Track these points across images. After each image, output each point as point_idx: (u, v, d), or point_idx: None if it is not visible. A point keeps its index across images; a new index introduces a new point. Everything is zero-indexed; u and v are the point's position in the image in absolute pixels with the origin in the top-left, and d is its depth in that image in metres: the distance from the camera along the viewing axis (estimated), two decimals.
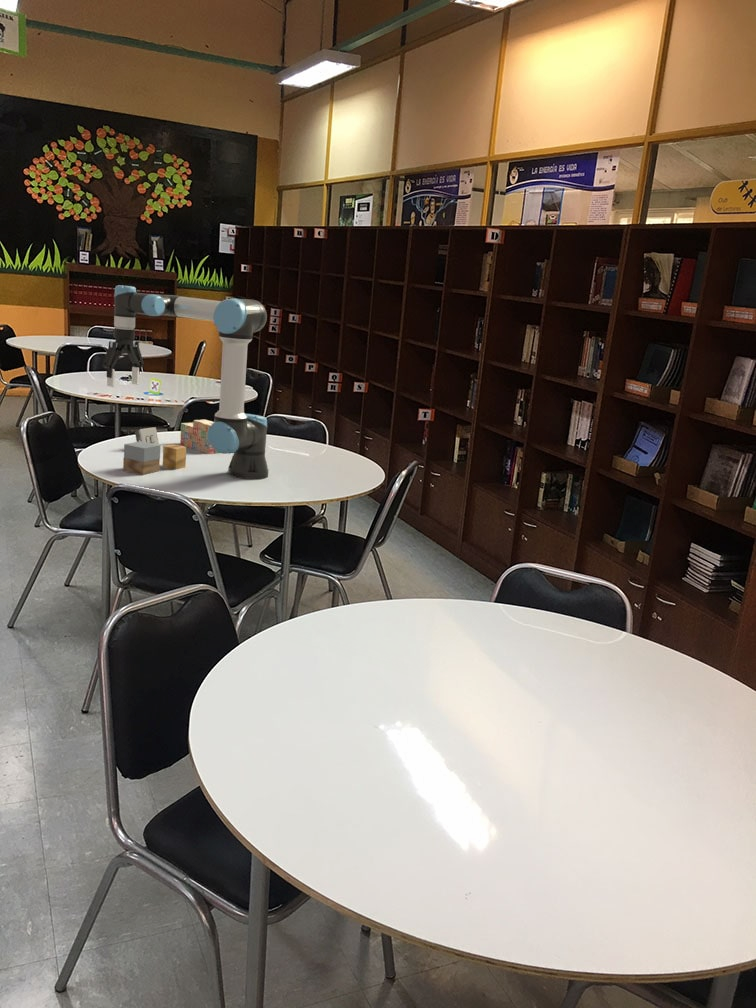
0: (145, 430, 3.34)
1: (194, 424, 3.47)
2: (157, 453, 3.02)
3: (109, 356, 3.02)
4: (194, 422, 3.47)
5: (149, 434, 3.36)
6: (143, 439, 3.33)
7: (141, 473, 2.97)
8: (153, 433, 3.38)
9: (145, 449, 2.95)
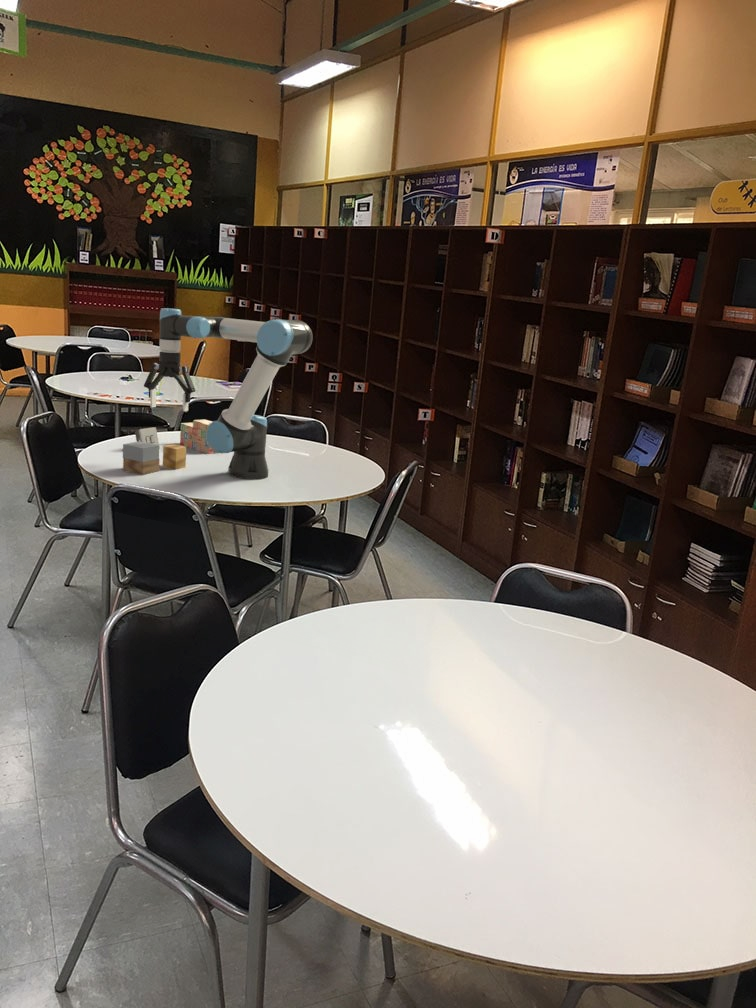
0: (145, 430, 3.34)
1: (194, 424, 3.47)
2: (156, 453, 3.02)
3: None
4: (194, 422, 3.47)
5: (149, 434, 3.36)
6: (143, 439, 3.33)
7: (141, 473, 2.97)
8: (153, 433, 3.38)
9: (144, 449, 2.95)
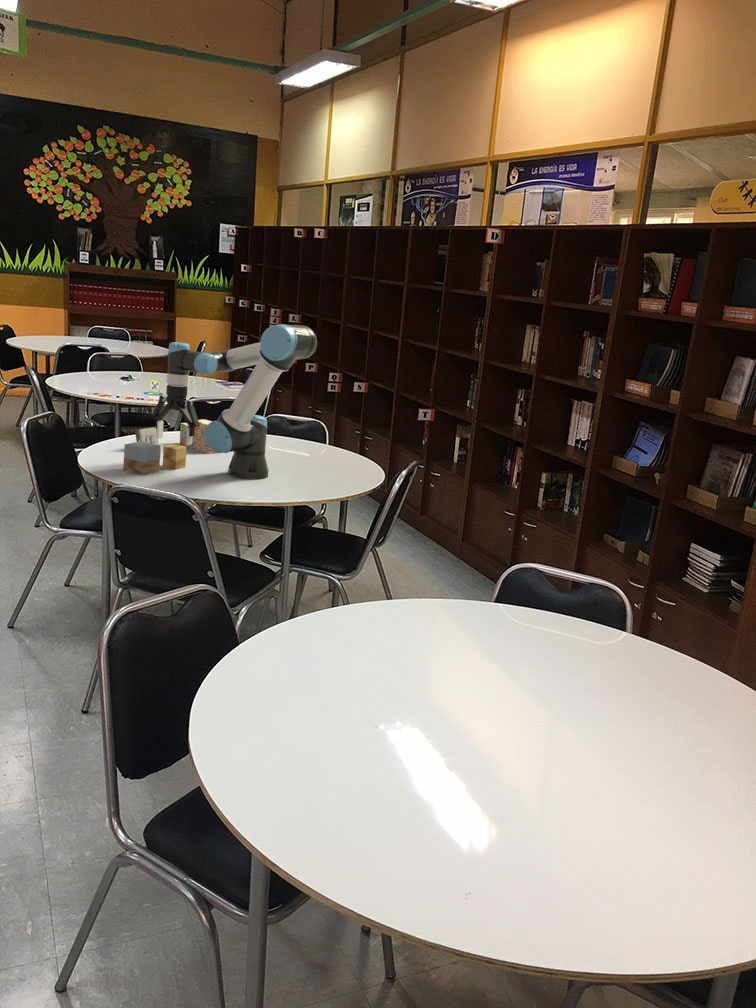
0: (145, 430, 3.34)
1: None
2: (157, 453, 3.02)
3: None
4: None
5: (149, 434, 3.36)
6: (143, 439, 3.33)
7: (141, 473, 2.97)
8: (153, 433, 3.38)
9: (145, 449, 2.95)
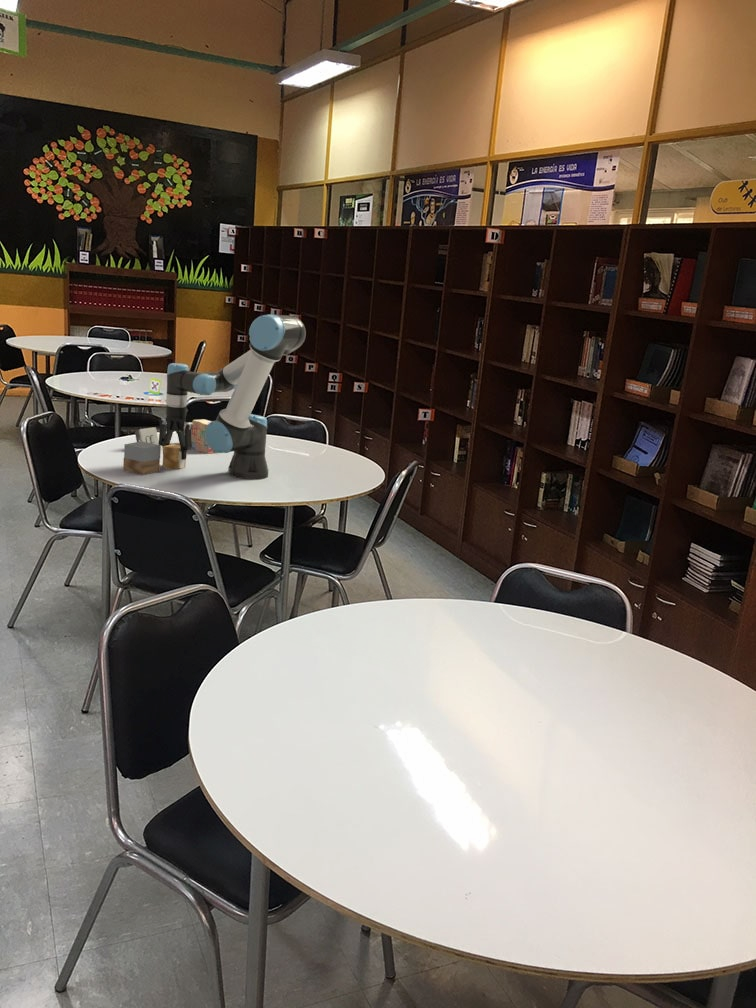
0: (145, 430, 3.34)
1: (193, 424, 3.47)
2: (157, 453, 3.02)
3: None
4: (193, 422, 3.47)
5: (149, 434, 3.36)
6: (143, 439, 3.33)
7: (141, 473, 2.97)
8: (153, 433, 3.38)
9: (145, 449, 2.95)
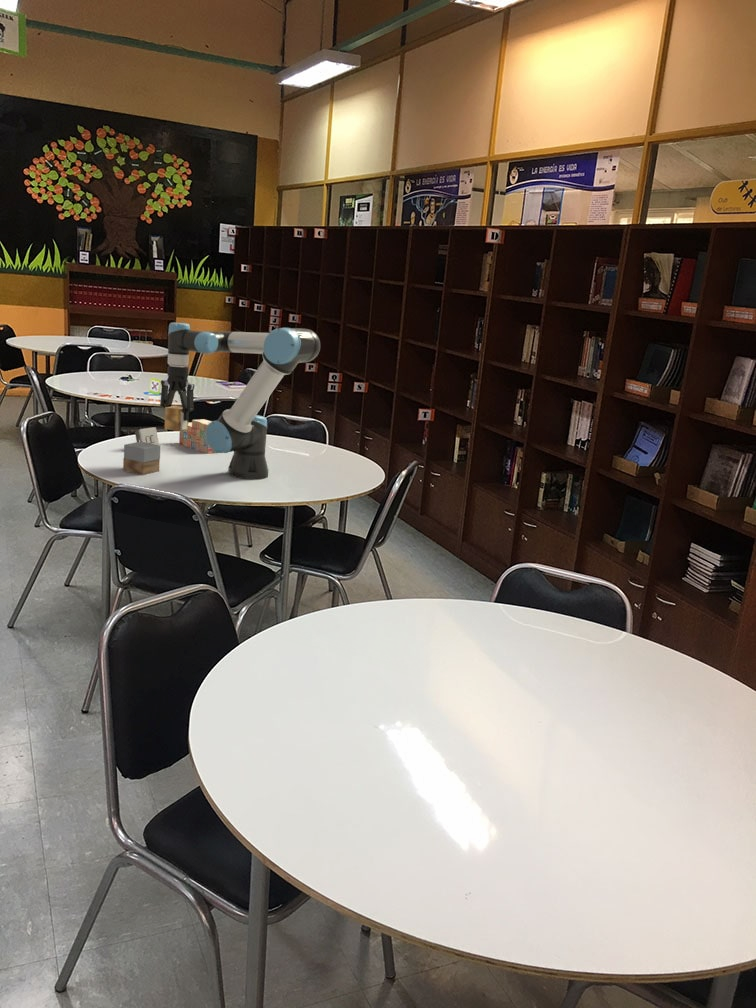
0: (145, 430, 3.34)
1: (193, 424, 3.47)
2: (157, 453, 3.02)
3: None
4: (193, 422, 3.47)
5: (149, 434, 3.36)
6: (143, 439, 3.33)
7: (141, 473, 2.97)
8: (153, 433, 3.38)
9: (145, 449, 2.95)
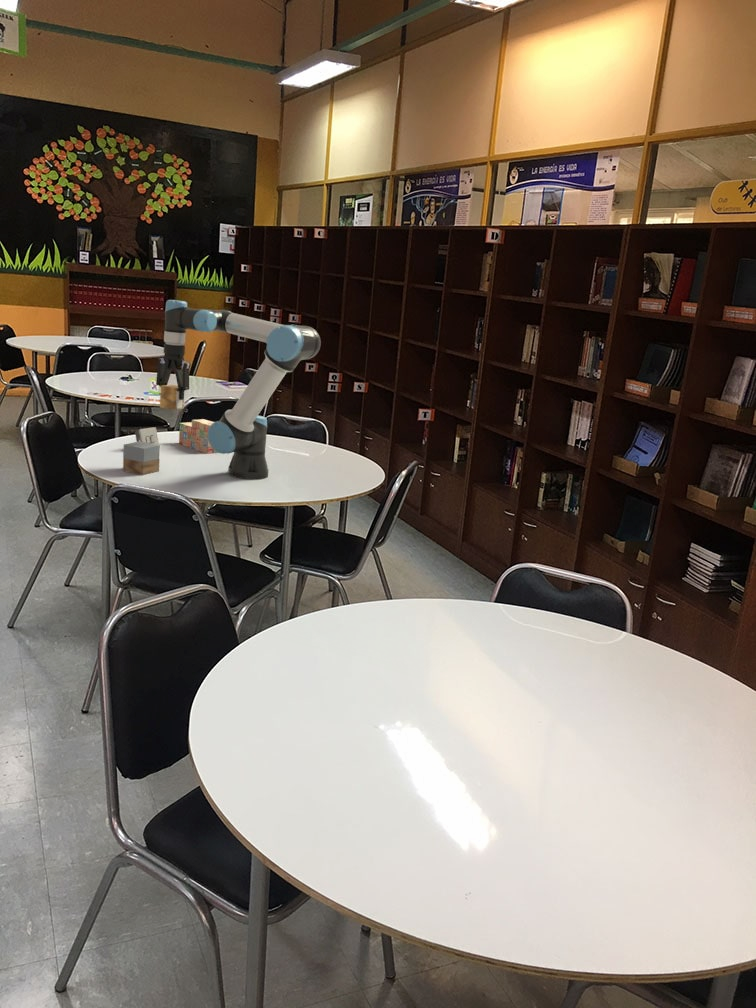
0: (145, 430, 3.34)
1: (192, 424, 3.47)
2: (156, 453, 3.02)
3: None
4: (192, 422, 3.47)
5: (149, 434, 3.36)
6: (143, 439, 3.33)
7: (141, 473, 2.97)
8: (153, 433, 3.38)
9: (145, 449, 2.95)
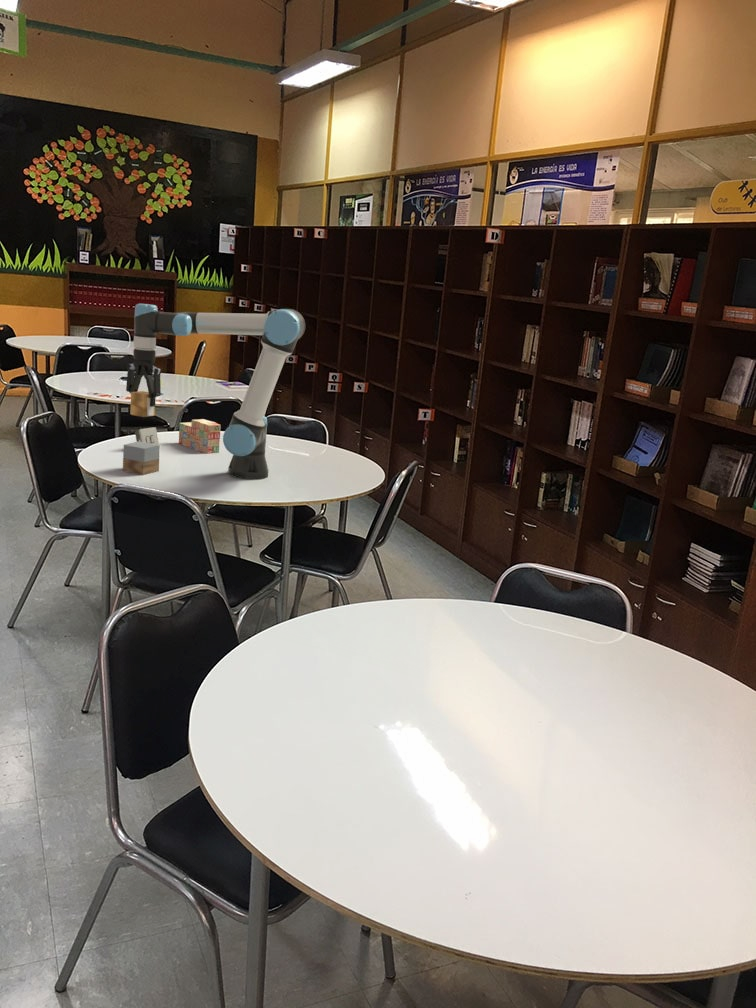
0: (145, 430, 3.34)
1: (192, 424, 3.47)
2: (156, 453, 3.02)
3: None
4: (192, 422, 3.47)
5: (149, 434, 3.36)
6: (143, 439, 3.33)
7: (141, 473, 2.97)
8: (153, 433, 3.38)
9: (145, 449, 2.95)
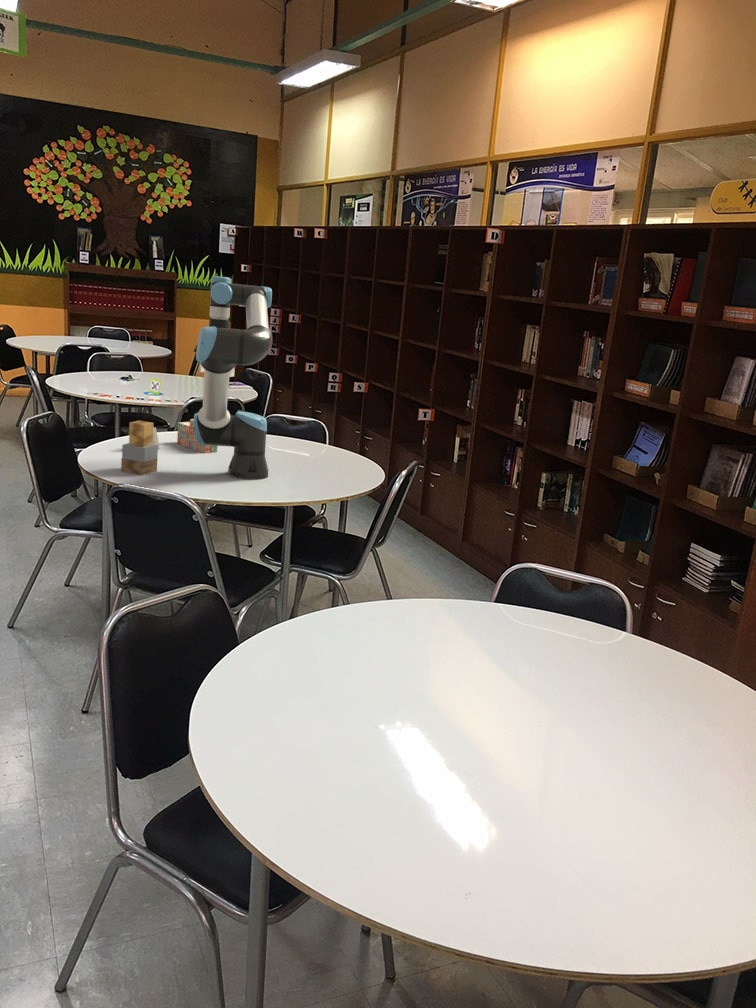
0: None
1: (190, 423, 3.48)
2: (155, 452, 3.02)
3: None
4: (190, 422, 3.48)
5: None
6: None
7: (140, 473, 2.97)
8: (153, 433, 3.38)
9: (145, 449, 2.95)
